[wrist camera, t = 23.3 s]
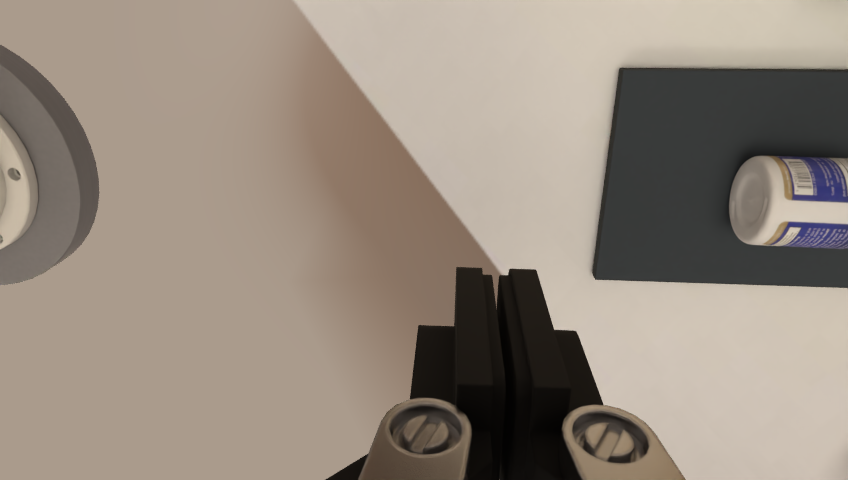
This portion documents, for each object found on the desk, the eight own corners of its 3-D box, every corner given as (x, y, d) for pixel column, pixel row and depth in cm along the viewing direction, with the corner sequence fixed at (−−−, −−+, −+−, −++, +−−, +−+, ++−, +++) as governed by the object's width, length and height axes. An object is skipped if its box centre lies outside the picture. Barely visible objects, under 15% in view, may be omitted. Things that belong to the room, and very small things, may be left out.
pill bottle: (719, 227, 36) (861, 235, 36) (758, 257, 32) (924, 266, 31) (738, 146, 35) (888, 153, 34) (782, 165, 30) (958, 173, 29)
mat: (592, 273, 40) (594, 279, 39) (619, 67, 34) (623, 69, 33) (858, 281, 38) (868, 288, 38) (932, 70, 33) (945, 72, 32)
